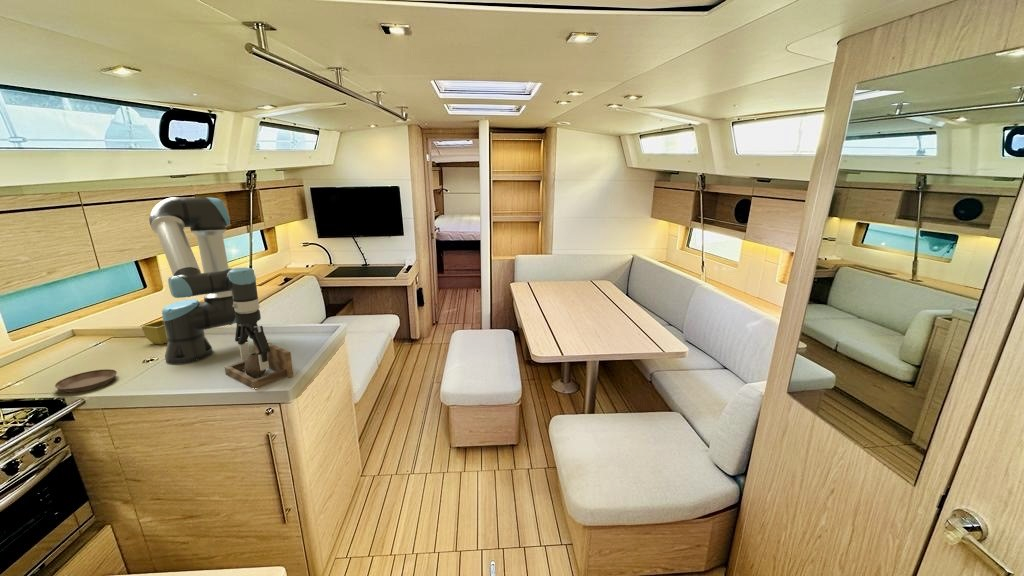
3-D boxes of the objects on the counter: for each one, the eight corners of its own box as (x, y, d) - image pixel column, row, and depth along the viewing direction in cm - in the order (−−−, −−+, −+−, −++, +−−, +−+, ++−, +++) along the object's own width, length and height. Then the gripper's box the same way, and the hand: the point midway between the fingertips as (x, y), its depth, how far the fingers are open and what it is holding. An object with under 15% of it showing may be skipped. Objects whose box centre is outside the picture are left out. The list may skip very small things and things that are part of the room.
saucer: (115, 371, 144) (114, 365, 144) (121, 384, 135) (119, 377, 134) (56, 385, 133) (54, 378, 132) (57, 400, 124) (55, 393, 123)
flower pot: (144, 345, 168) (140, 325, 166) (165, 337, 176) (161, 319, 174) (161, 346, 167) (157, 327, 165) (181, 339, 175) (177, 321, 173)
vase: (257, 380, 140) (253, 358, 137) (241, 378, 141) (237, 356, 139) (272, 372, 146) (269, 351, 144) (256, 370, 147) (253, 349, 145)
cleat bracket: (223, 373, 144) (219, 349, 142) (260, 361, 155) (256, 338, 153) (256, 390, 132) (252, 364, 130) (293, 376, 143) (290, 351, 141)
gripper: (218, 306, 140) (227, 359, 145) (254, 320, 128) (262, 377, 133) (241, 302, 146) (249, 352, 152) (276, 314, 134) (283, 369, 140)
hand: (255, 364), depth 143 cm, fingers open, 13 cm apart
